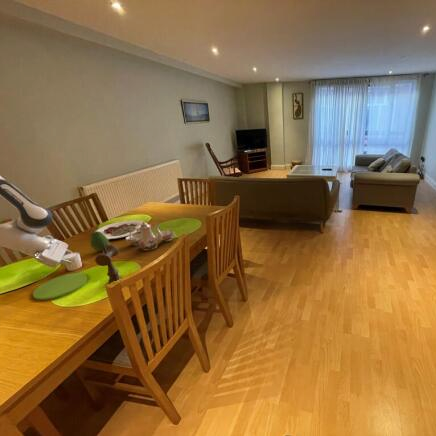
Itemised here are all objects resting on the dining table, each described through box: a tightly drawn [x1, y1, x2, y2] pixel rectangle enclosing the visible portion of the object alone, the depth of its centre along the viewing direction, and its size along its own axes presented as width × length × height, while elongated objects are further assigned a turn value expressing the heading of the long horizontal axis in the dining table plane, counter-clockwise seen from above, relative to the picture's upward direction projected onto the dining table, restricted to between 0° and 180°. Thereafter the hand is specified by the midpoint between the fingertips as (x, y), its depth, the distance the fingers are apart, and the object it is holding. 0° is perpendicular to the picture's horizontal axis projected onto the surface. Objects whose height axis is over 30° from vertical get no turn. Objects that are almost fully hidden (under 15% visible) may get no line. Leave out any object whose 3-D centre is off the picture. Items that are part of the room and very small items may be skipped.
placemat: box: [32, 272, 88, 301], centre depth 107 cm, size 18×18×1 cm
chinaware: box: [123, 221, 177, 252], centre depth 141 cm, size 28×17×17 cm, turn 113°
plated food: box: [94, 219, 147, 240], centre depth 161 cm, size 30×30×3 cm
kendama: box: [95, 243, 123, 284], centre depth 107 cm, size 6×10×20 cm, turn 17°
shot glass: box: [62, 251, 83, 272], centre depth 120 cm, size 7×7×7 cm
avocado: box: [90, 230, 110, 252], centre depth 135 cm, size 8×8×12 cm
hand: (73, 259), depth 120 cm, fingers closed on shot glass, 7 cm apart
